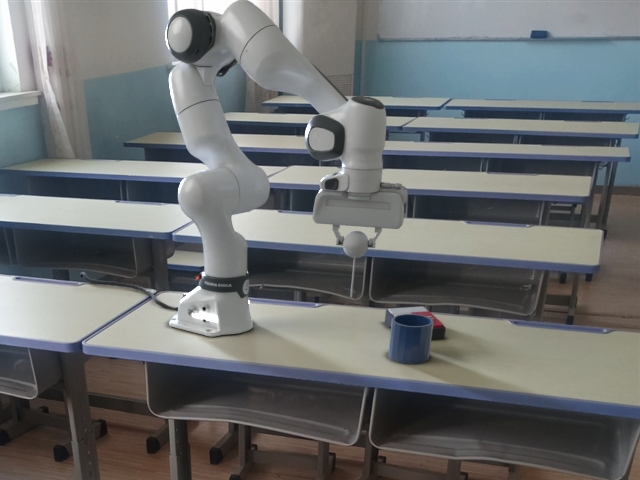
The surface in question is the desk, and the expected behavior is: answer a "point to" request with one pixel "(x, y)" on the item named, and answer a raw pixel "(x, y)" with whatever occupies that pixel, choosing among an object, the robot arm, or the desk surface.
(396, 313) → the calculator
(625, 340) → the desk surface
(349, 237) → the lollipop
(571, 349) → the desk surface
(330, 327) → the desk surface
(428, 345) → the cup
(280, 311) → the desk surface
